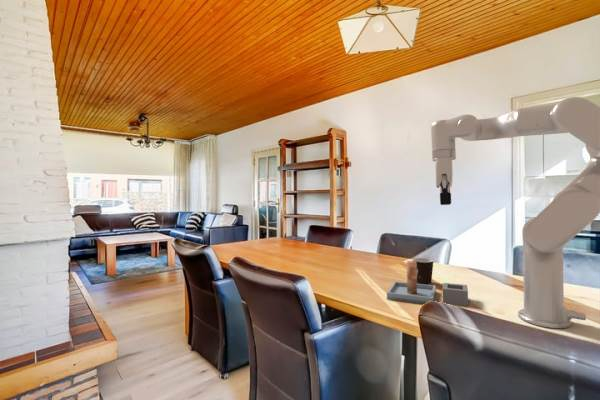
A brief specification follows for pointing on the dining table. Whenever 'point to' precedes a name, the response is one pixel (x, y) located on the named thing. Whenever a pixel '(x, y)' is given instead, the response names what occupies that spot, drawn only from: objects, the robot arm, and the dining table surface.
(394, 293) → the tray
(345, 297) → the dining table surface
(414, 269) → the dowel
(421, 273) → the coffee mug
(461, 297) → the socket block
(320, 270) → the dining table surface
